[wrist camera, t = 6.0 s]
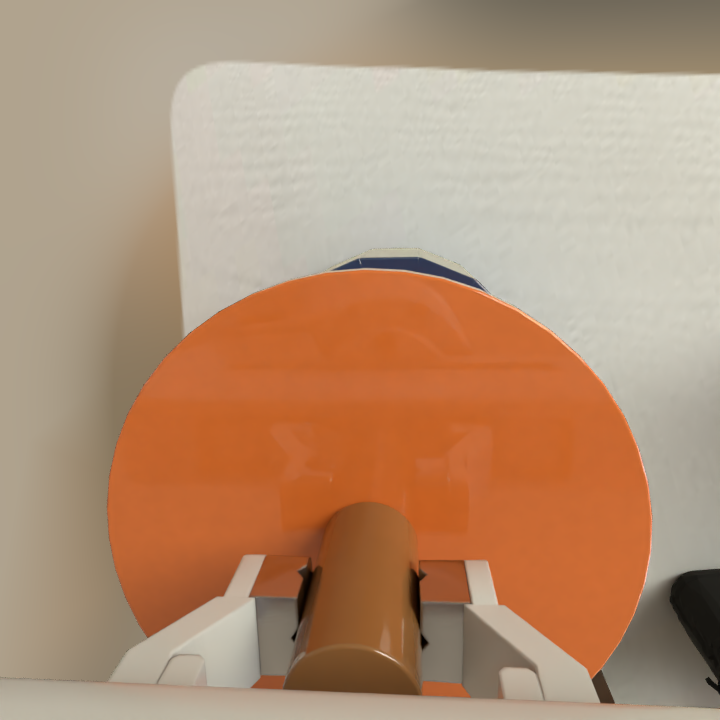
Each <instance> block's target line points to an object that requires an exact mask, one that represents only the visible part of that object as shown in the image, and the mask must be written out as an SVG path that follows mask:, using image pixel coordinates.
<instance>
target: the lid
mask: <svg viewBox="0 0 720 720" xmlns="http://www.w3.org/2000/svg"><path fill="white" fill-rule="evenodd" d="M107 515H108V529H109V541H110V546H111V550H112V555H113V560H114V565H115V569H116V572H117V575H118V578H119V581H120V584H121V586H122V589H123V592H124V595H125V598H126V600H127V602H128V604H129V606H130V608H131V610H132V612H133V614H134V616H135V618H136V620H137V622H138V624H139V626H140V627H141V629H142V630H143V632H144V633H145V635H146V636H147V638H149V637H150V636H152V635H154V634H155V633H157V632H159V631H160V630H162V629H164V628H165V627H167V626H169V625H170V624H172V623H174V622H175V621H177V620H179V619H180V618H182V617H183V616H185V615H187V614H188V613H190V612H192V611H193V610H195V609H197V608H198V607H200V606H202V605H203V604H205V603H207V602H208V601H210V600H212V599H213V598H215V597H217V596H220V597H223V596H224V594H225V592H226V590H227V588H228V585H229V583H230V581H231V579H232V577H233V575H234V573H235V571H236V569H237V567H238V565H239V563H240V561H241V559H242V557H243V556H244V555H246V554H266V555H284V556H306V557H311V560H312V570H313V574H312V577H311V581H310V585H309V589H308V592H307V596H306V600H305V604H304V608H303V611H302V615H301V619H300V623H299V626H298V630H297V634H296V638H295V642H294V645H293V649H292V653H291V657H290V660H289V664H288V668H287V672H286V676H269V675H260V677H261V678H260V679H259V680H258V681H257V682H256V683H255V684H254V685H253V686H252V687H251V688H260V689H283V690H307V691H330V692H353V693H376V694H399V695H423V696H446V697H469V698H471V697H470V695H469V694H468V693H467V691H466V690H465V689H464V687H463V686H462V684H459V683H444V682H430V681H423V665H422V637H421V632H420V615H419V584H418V562H419V560H487V561H488V564H489V568H490V572H491V576H492V581H493V585H494V589H495V593H496V597H497V601H498V605H505V606H507V607H508V608H509V609H510V610H512V611H513V612H514V613H516V614H517V615H518V616H519V617H521V618H522V619H523V620H525V621H526V622H527V623H528V624H530V625H531V626H532V627H534V628H535V629H536V630H537V631H539V632H540V633H541V634H543V635H544V636H545V637H546V638H548V639H549V640H550V641H552V642H553V643H554V644H555V645H557V646H558V647H559V648H561V649H562V650H563V651H564V652H566V653H567V654H568V655H570V656H571V657H572V658H573V659H575V660H576V661H577V662H579V663H580V664H581V665H583V666H584V667H585V668H586V669H587V671H588V673H589V676H590V678H591V679H592V678H593V677H594V676H595V675H596V674H597V673H598V672H599V671H600V670H601V669H602V667H603V666H604V664H605V663H606V661H607V660H608V659H609V657H610V656H611V654H612V653H613V652H614V650H615V649H616V647H617V646H618V644H619V643H620V641H621V639H622V637H623V636H624V634H625V632H626V630H627V628H628V626H629V624H630V622H631V620H632V618H633V616H634V614H635V611H636V608H637V606H638V603H639V600H640V597H641V594H642V591H643V588H644V585H645V581H646V576H647V570H648V565H649V560H650V554H651V540H652V510H651V501H650V493H649V485H648V480H647V476H646V472H645V469H644V465H643V462H642V458H641V454H640V451H639V448H638V445H637V443H636V441H635V439H634V436H633V434H632V432H631V430H630V427H629V425H628V423H627V421H626V418H625V416H624V414H623V413H622V411H621V410H620V408H619V407H618V405H617V403H616V402H615V400H614V399H613V397H612V395H611V394H610V392H609V391H608V389H607V388H606V386H605V384H604V383H603V382H602V381H601V380H600V379H599V377H598V376H597V375H596V374H595V373H594V372H593V370H592V369H591V368H590V367H589V366H588V365H587V363H586V362H585V361H584V360H583V359H582V358H581V357H580V355H578V354H577V353H576V352H575V351H574V350H573V349H572V348H570V347H569V346H568V345H567V344H566V343H565V342H564V341H563V340H561V339H560V338H559V337H558V336H557V335H556V334H555V333H553V332H552V331H551V330H550V329H549V328H547V327H546V326H544V325H543V324H541V323H540V322H538V321H537V320H535V319H534V318H532V317H531V316H529V315H528V314H526V313H525V312H523V311H522V310H520V309H519V308H517V307H516V306H514V305H512V304H510V303H508V302H506V301H504V300H502V299H499V298H497V297H495V296H493V295H491V294H489V293H487V292H485V291H483V290H481V289H478V288H475V287H472V286H469V285H466V284H463V283H460V282H457V281H454V280H451V279H447V278H444V277H440V276H435V275H429V274H424V273H419V272H413V271H408V270H396V269H377V268H360V269H347V270H335V271H326V272H322V273H317V274H312V275H308V276H303V277H299V278H294V279H290V280H288V281H285V282H282V283H279V284H277V285H274V286H271V287H268V288H266V289H263V290H260V291H257V292H255V293H253V294H251V295H249V296H247V297H246V298H244V299H242V300H240V301H238V302H236V303H234V304H232V305H231V306H229V307H227V308H225V309H223V310H221V311H219V312H218V313H216V314H215V315H214V316H212V317H211V318H210V319H208V320H207V321H205V322H204V323H203V324H201V325H200V326H199V327H197V328H196V329H194V330H193V331H192V332H190V333H189V334H188V335H187V336H186V337H185V338H184V339H183V340H182V341H181V342H180V343H179V344H178V345H177V346H176V347H175V348H174V349H173V350H172V351H171V352H170V353H169V354H168V355H167V356H166V357H165V358H164V359H163V360H162V362H161V363H160V364H159V365H158V367H157V368H156V369H155V371H154V372H153V373H152V375H151V376H150V377H149V379H148V380H147V381H146V382H145V384H144V385H143V387H142V389H141V391H140V392H139V394H138V396H137V398H136V400H135V401H134V403H133V405H132V407H131V409H130V411H129V412H128V414H127V417H126V420H125V422H124V425H123V427H122V430H121V433H120V436H119V438H118V441H117V443H116V447H115V452H114V456H113V461H112V466H111V470H110V475H109V487H108V500H107Z"/></svg>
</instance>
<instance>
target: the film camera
mask: <svg viewBox="0 0 720 720" xmlns="http://www.w3.org/2000/svg"><path fill="white" fill-rule="evenodd" d="M670 603H671V604H672V605H673V609H674V610H675V612H676V613H677V615H678V619H679V620H680V622H681V624H682V625H683V627H684V629H685V631H686V632H687V634H688V636H689V637H690V639H691V640H692V642H693V643H694V645H695V646H696V648H697V649H698V651H699V652H700V654H701V655H702V657H703V658H704V660H705V661H706V663H707V664H708V665H709V667H710V669H711V671H712V672H713V674H714V675H715V677H716V678H717V680H718V685H717V684H715V683H714V682H713V681H712V680H711V679H710V678H709V677H708V678H706V679H705V680H706V681H707V683H708V685H710V686H711V687H712V688H714V689H715V690H716V691H717V692H718V693H719V694H720V569H715V570H700V571H692V572H688V573H686V574H684V575H682V576H680V578H679V579H678V580H677V581H676V582H675V583H674V585H673V586H672V590H671V596H670Z"/></svg>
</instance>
